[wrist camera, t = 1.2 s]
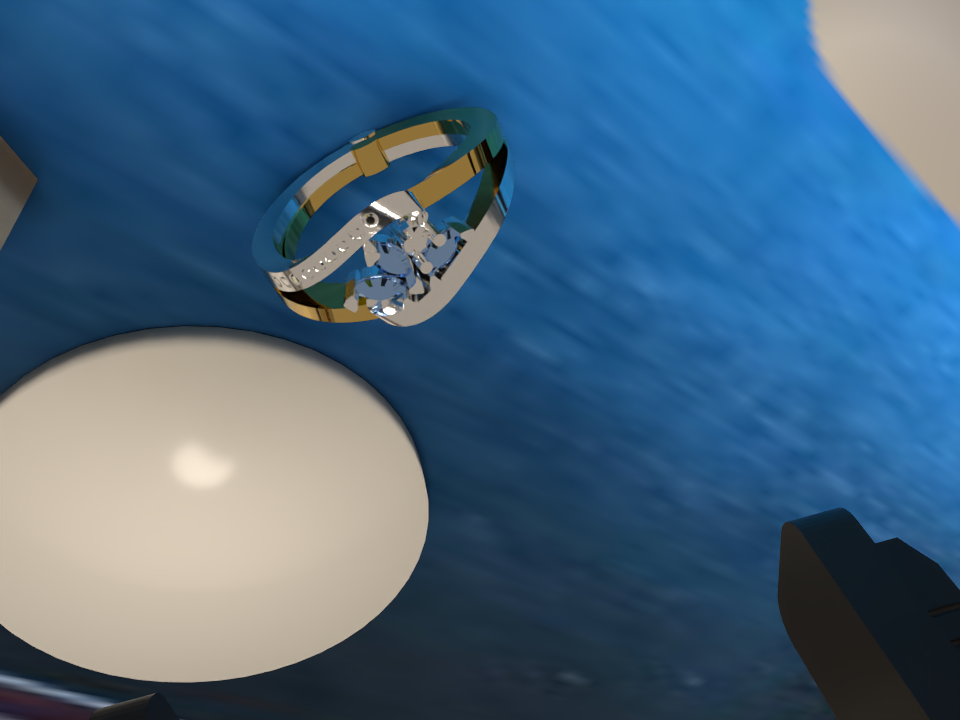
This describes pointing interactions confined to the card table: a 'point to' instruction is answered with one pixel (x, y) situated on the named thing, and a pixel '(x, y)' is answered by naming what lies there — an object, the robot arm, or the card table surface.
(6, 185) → the birch block
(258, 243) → the ring
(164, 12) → the card table surface
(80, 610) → the cream ceramic dish
